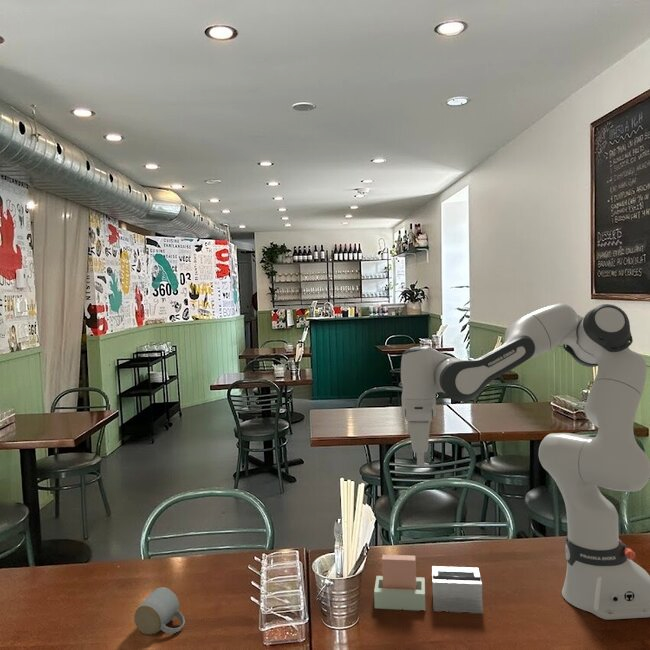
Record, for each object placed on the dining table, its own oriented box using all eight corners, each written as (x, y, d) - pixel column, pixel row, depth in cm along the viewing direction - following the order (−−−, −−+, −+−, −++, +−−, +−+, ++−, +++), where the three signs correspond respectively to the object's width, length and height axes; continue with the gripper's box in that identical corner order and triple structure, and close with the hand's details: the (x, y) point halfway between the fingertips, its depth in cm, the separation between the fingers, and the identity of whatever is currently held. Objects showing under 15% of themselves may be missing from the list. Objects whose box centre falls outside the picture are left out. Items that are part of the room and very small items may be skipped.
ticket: (416, 595, 140) (415, 555, 140) (416, 600, 138) (415, 560, 137) (384, 594, 142) (382, 554, 141) (383, 599, 139) (381, 559, 139)
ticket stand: (425, 593, 143) (424, 577, 143) (425, 610, 135) (424, 594, 135) (377, 591, 145) (376, 575, 145) (374, 608, 137) (374, 592, 137)
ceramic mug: (132, 635, 130) (130, 602, 130) (152, 615, 138) (151, 584, 138) (173, 641, 127) (172, 608, 127) (191, 621, 135) (190, 589, 135)
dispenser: (479, 595, 141) (478, 565, 140) (482, 613, 133) (481, 581, 132) (432, 593, 142) (431, 563, 142) (433, 611, 135) (432, 579, 134)
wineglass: (343, 555, 165) (341, 515, 165) (359, 561, 162) (358, 519, 161) (331, 563, 161) (329, 521, 160) (347, 569, 157) (345, 526, 157)
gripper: (407, 400, 160) (409, 449, 161) (405, 416, 140) (407, 471, 141) (430, 400, 159) (432, 449, 160) (432, 416, 139) (433, 472, 140)
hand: (420, 460), depth 150 cm, fingers open, 8 cm apart
